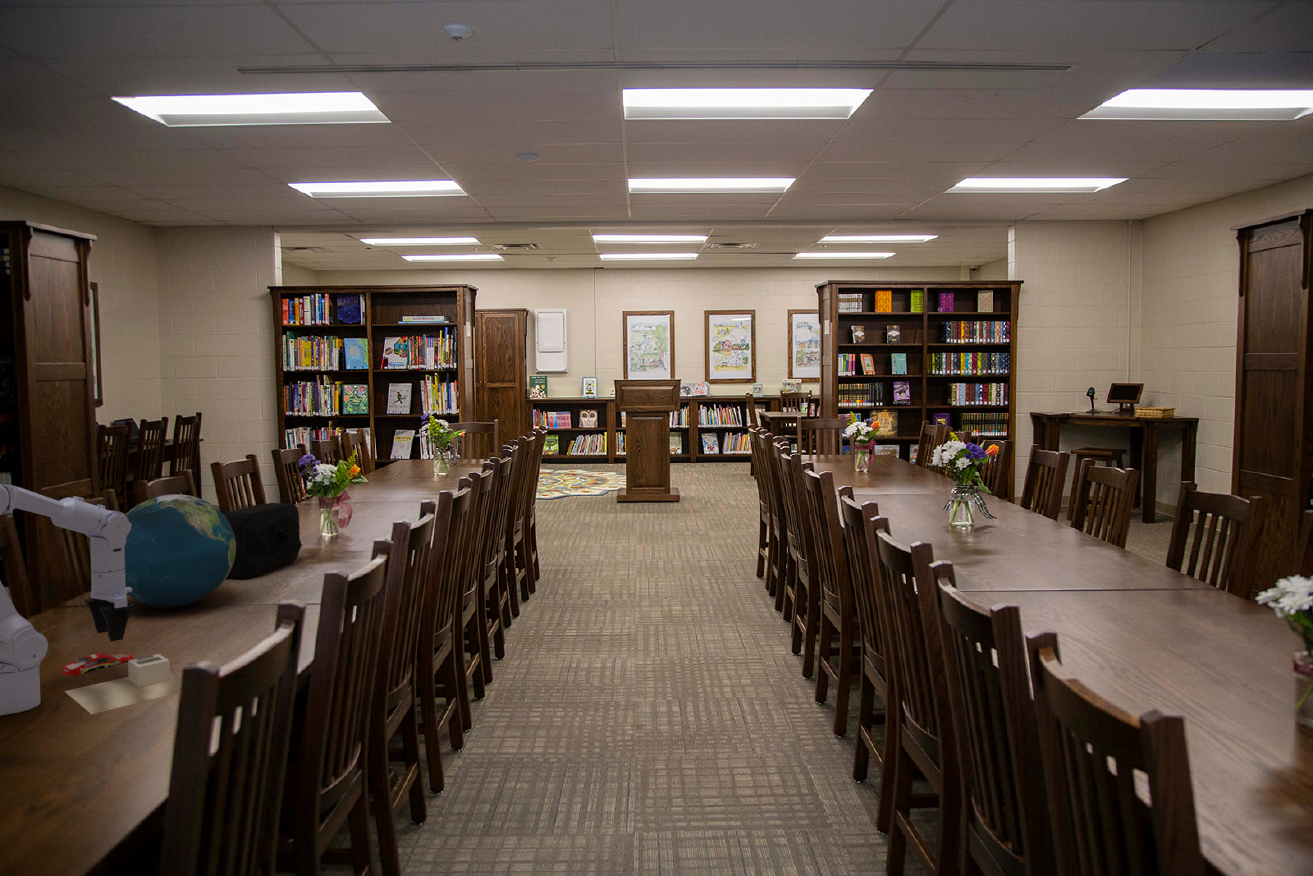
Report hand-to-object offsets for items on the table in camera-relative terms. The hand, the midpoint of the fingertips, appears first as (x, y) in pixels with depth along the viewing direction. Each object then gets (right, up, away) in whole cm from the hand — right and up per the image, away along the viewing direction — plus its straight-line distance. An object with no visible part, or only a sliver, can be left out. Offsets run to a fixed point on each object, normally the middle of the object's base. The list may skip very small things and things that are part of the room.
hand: (110, 636), depth 170 cm
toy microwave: (+9, -8, -2) cm, 13 cm away
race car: (-6, -9, +6) cm, 12 cm away
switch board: (+9, -10, -7) cm, 15 cm away
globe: (-19, -5, +56) cm, 59 cm away
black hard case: (-14, -2, +98) cm, 99 cm away
